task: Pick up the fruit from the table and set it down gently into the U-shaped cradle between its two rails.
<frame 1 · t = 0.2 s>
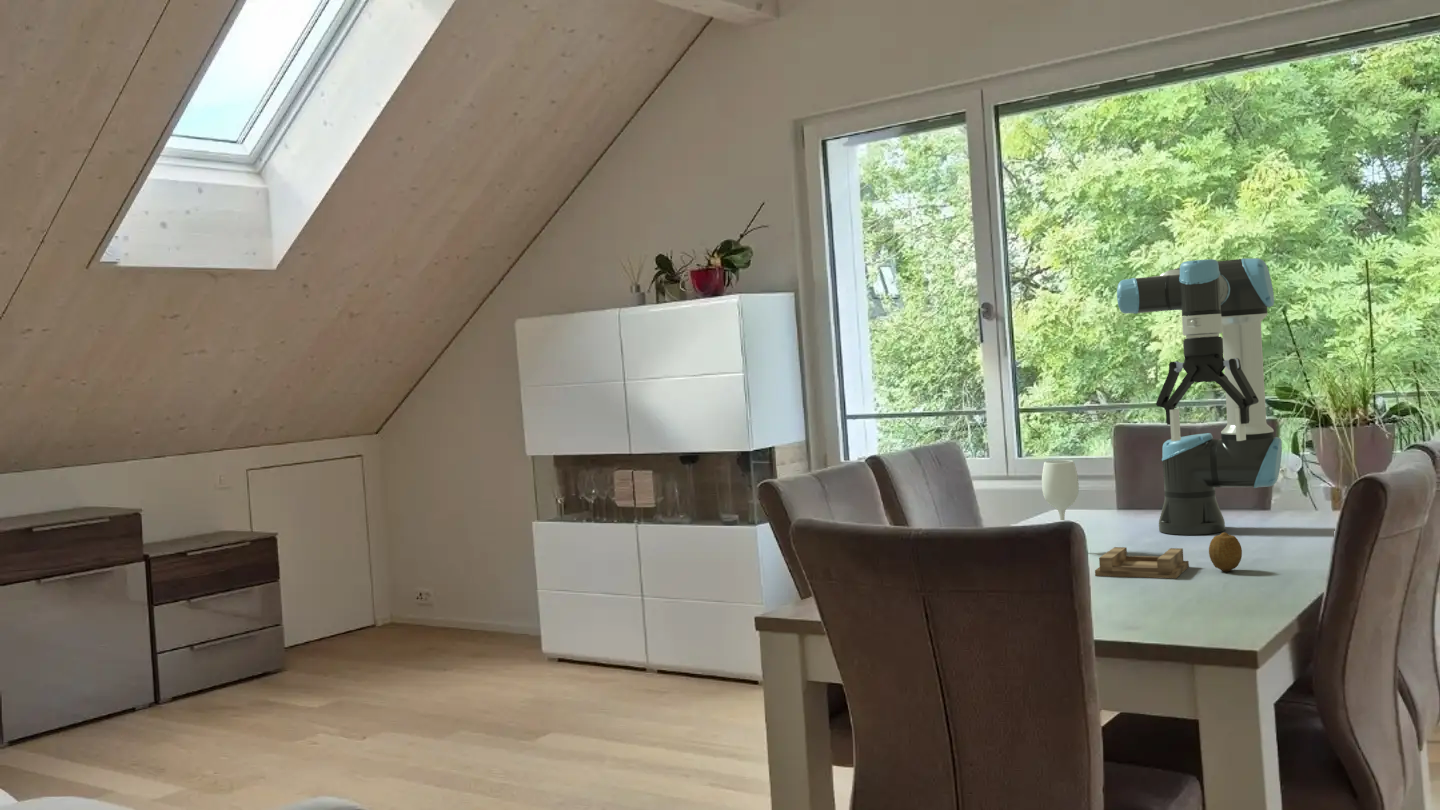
hand: (1208, 440, 254), 27 cm above the table, fingers open, 13 cm apart
wineglass: (1064, 552, 288), on the table
cradle: (1142, 571, 259), on the table
fruit: (1226, 572, 253), on the table
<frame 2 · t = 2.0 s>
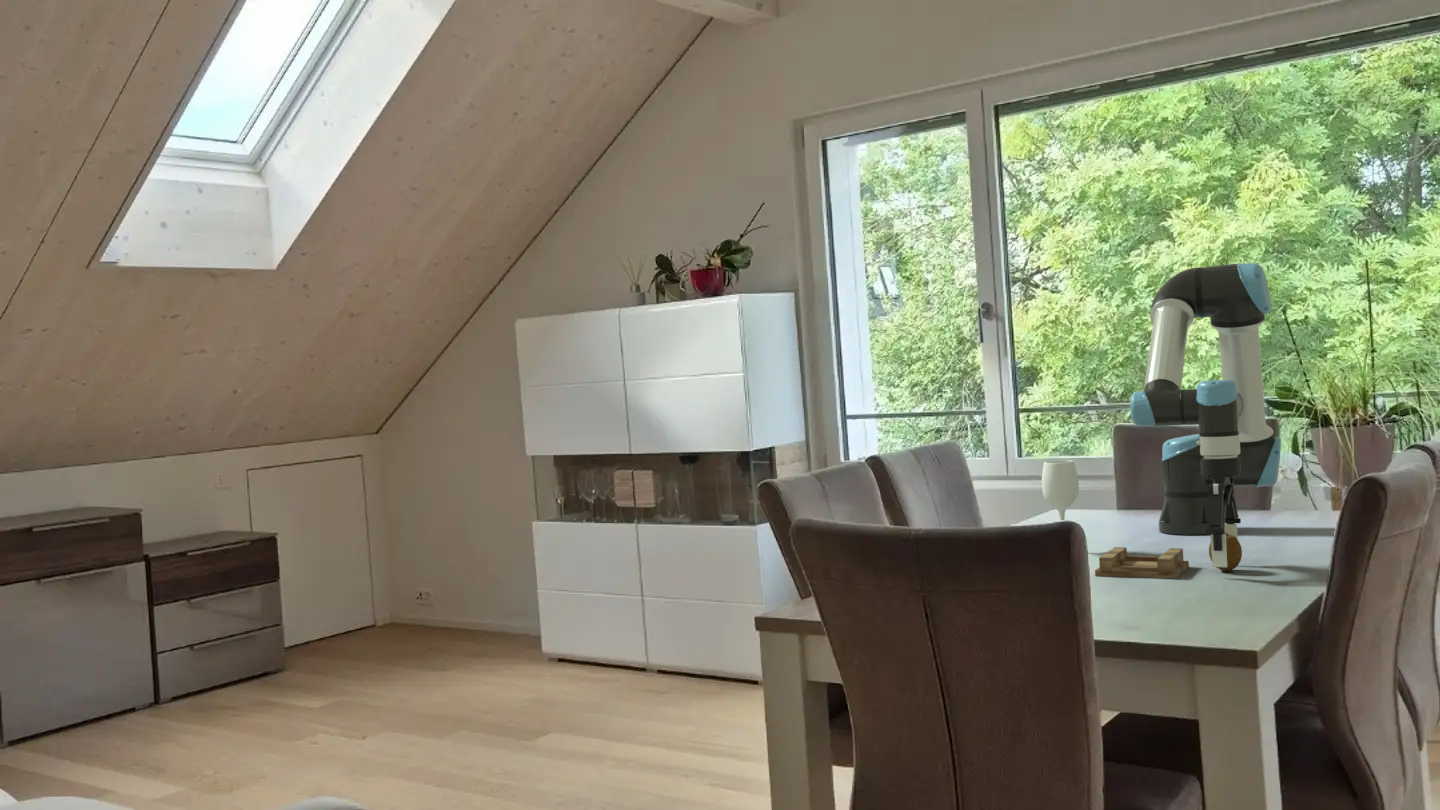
hand: (1225, 561, 253), 2 cm above the table, fingers open, 13 cm apart
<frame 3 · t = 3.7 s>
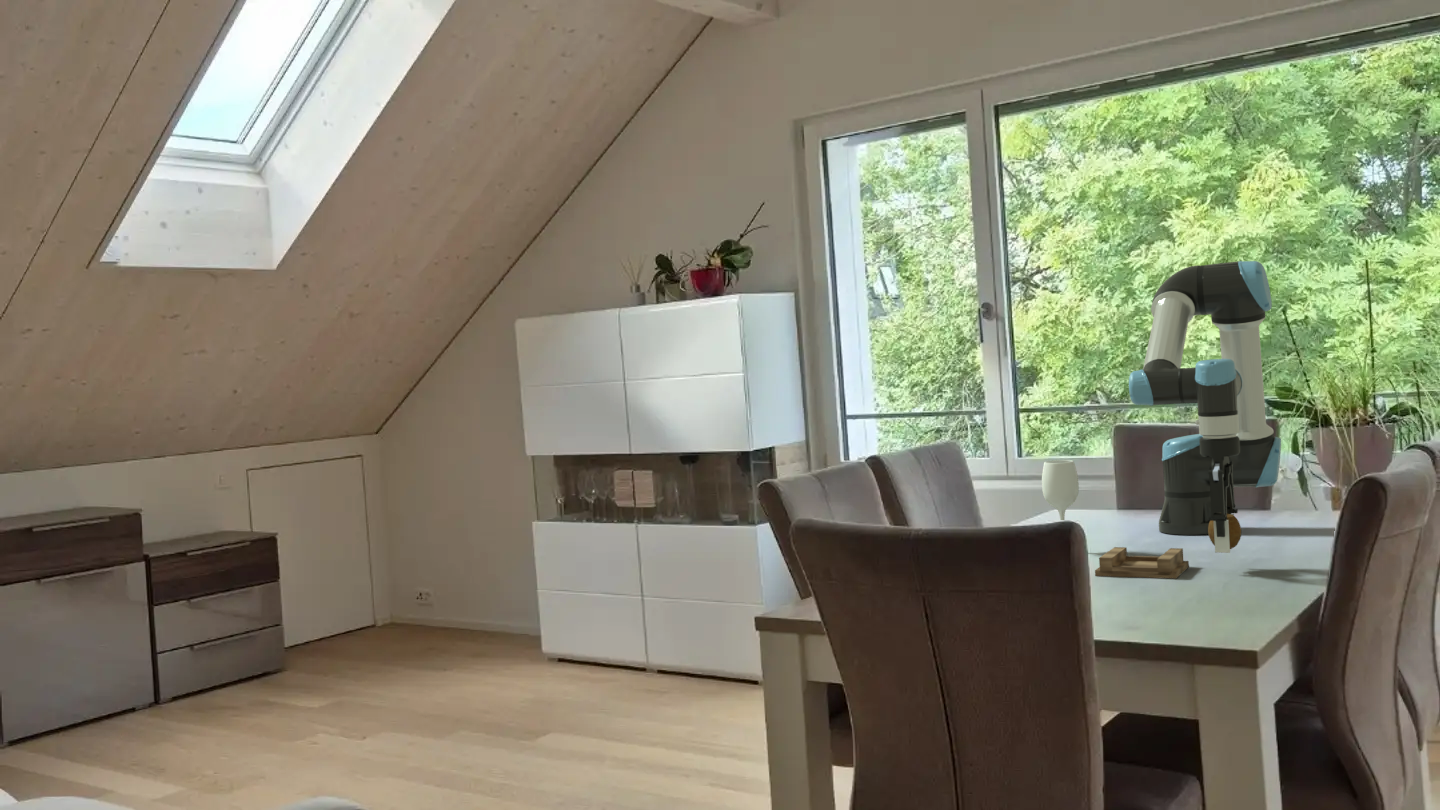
hand: (1225, 548, 253), 5 cm above the table, fingers closed on fruit, 6 cm apart
fruit: (1225, 551, 253), point 4 cm above the table, touching gripper
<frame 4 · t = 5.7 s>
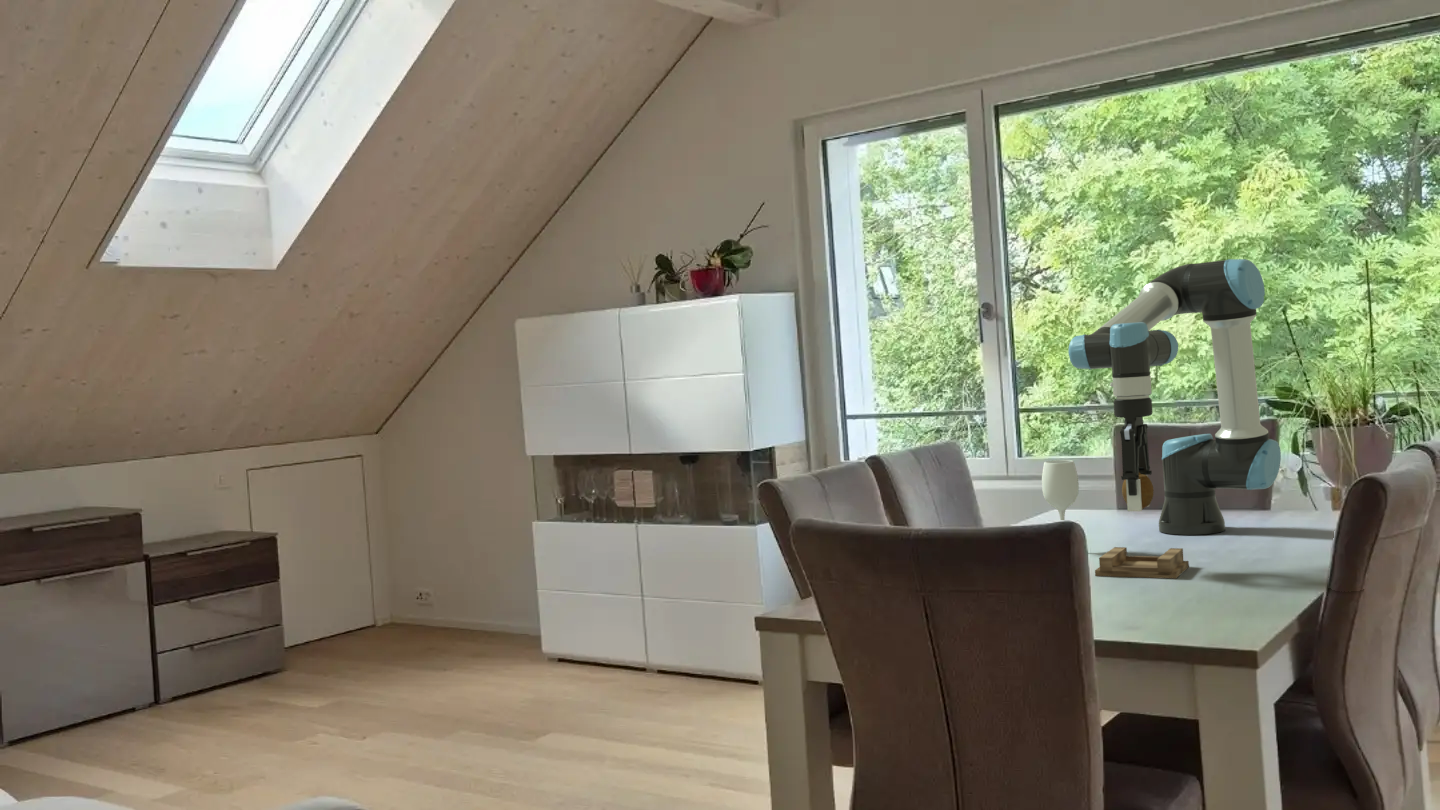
hand: (1138, 508, 258), 13 cm above the table, fingers closed on fruit, 6 cm apart
fruit: (1138, 510, 259), point 13 cm above the table, touching gripper
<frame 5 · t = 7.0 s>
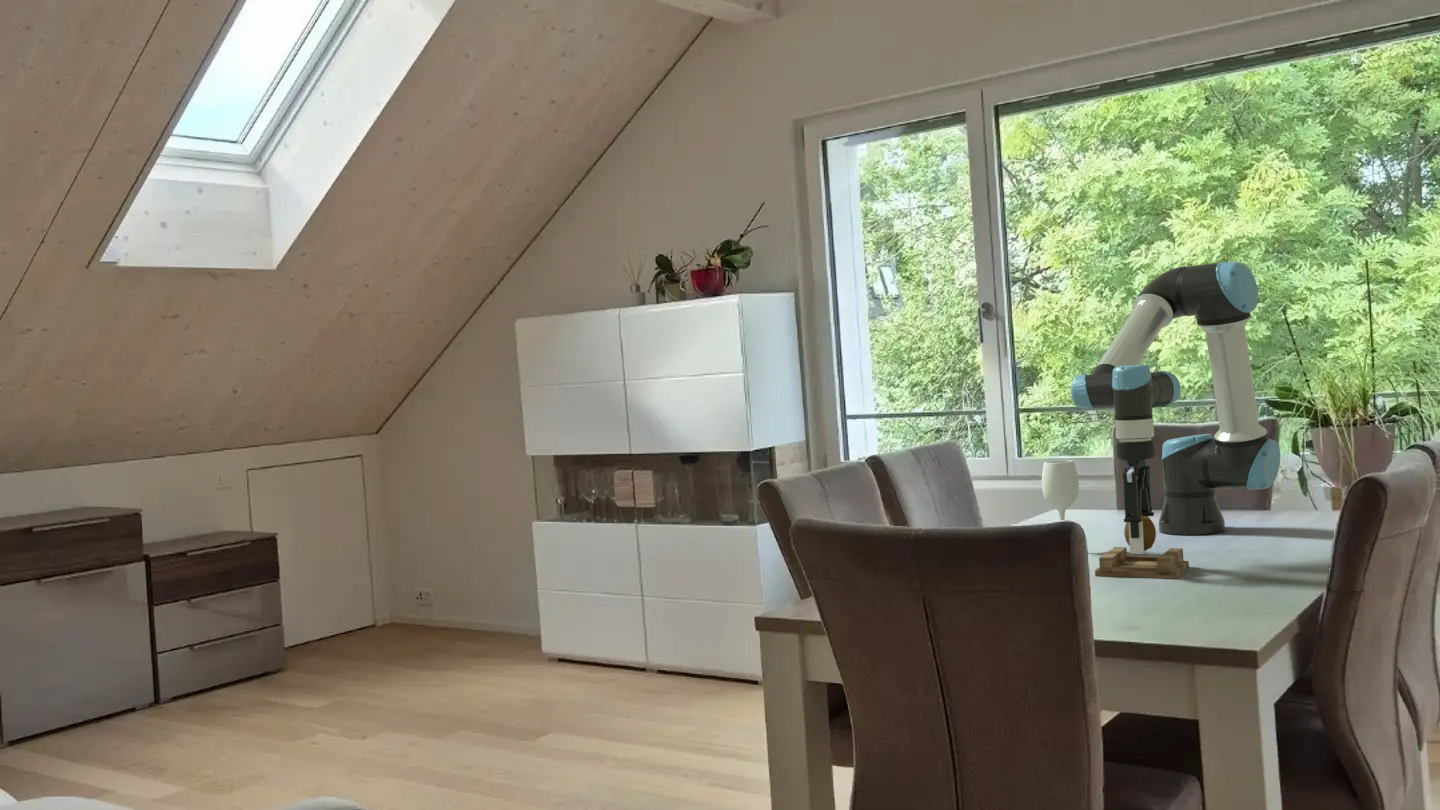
hand: (1140, 550, 259), 4 cm above the table, fingers closed on fruit, 6 cm apart
fruit: (1141, 552, 259), point 4 cm above the table, touching gripper
when the fingers open (2 cm above the table, at t = 7.8 s): fruit stays where it is, resting on cradle.
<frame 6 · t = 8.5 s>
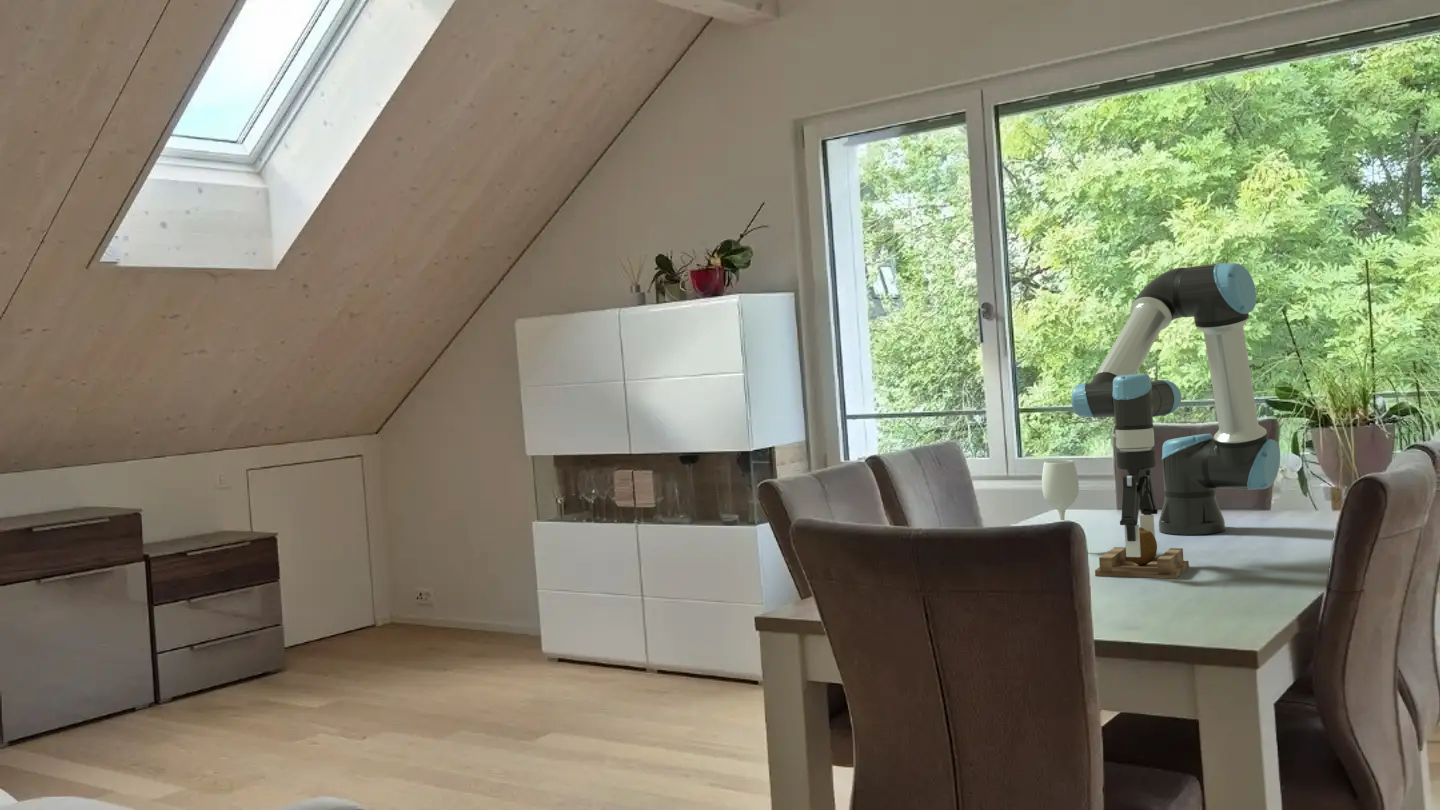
hand: (1141, 551, 259), 4 cm above the table, fingers open, 13 cm apart
fruit: (1142, 566, 259), point 1 cm above the table, touching cradle
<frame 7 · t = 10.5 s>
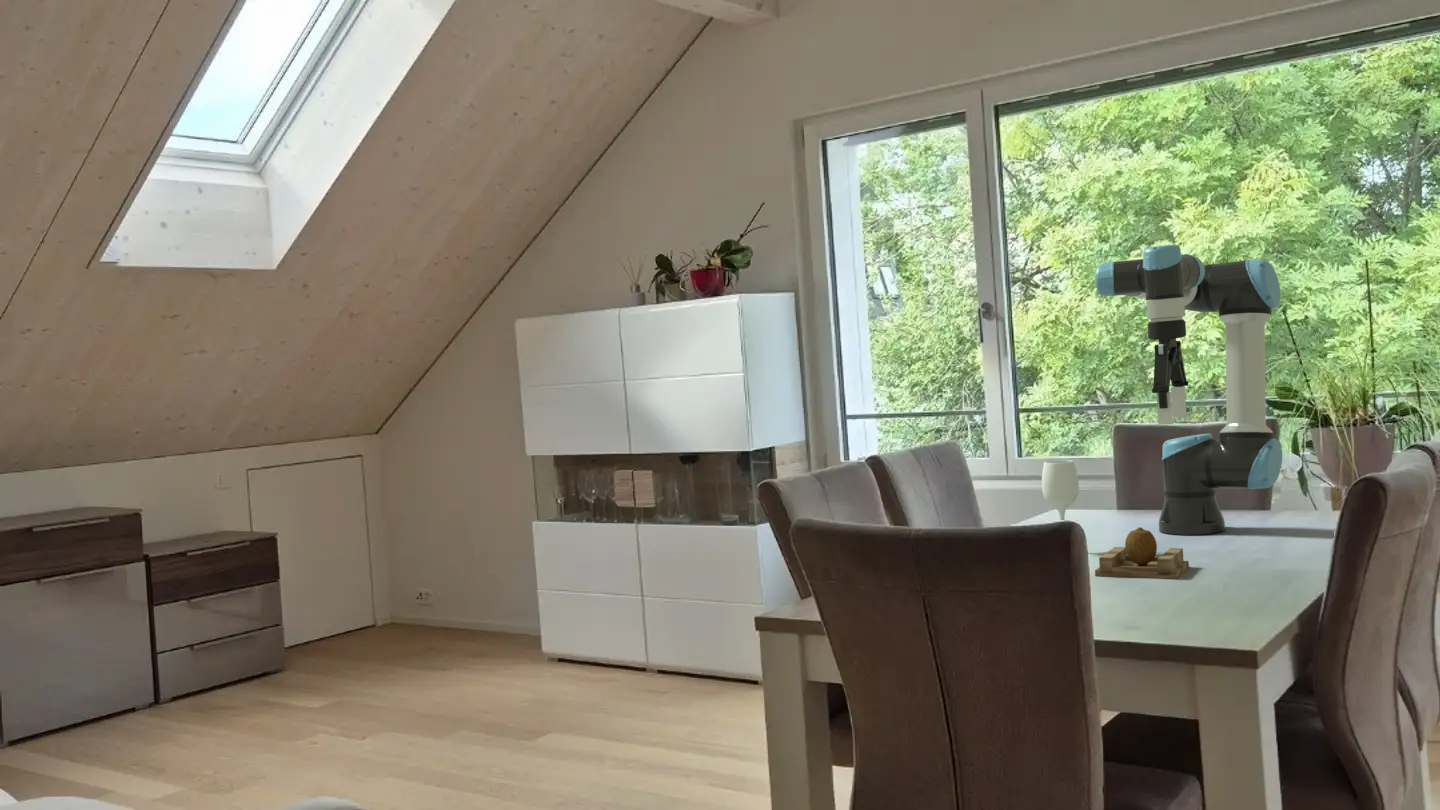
hand: (1172, 420, 262), 30 cm above the table, fingers open, 13 cm apart
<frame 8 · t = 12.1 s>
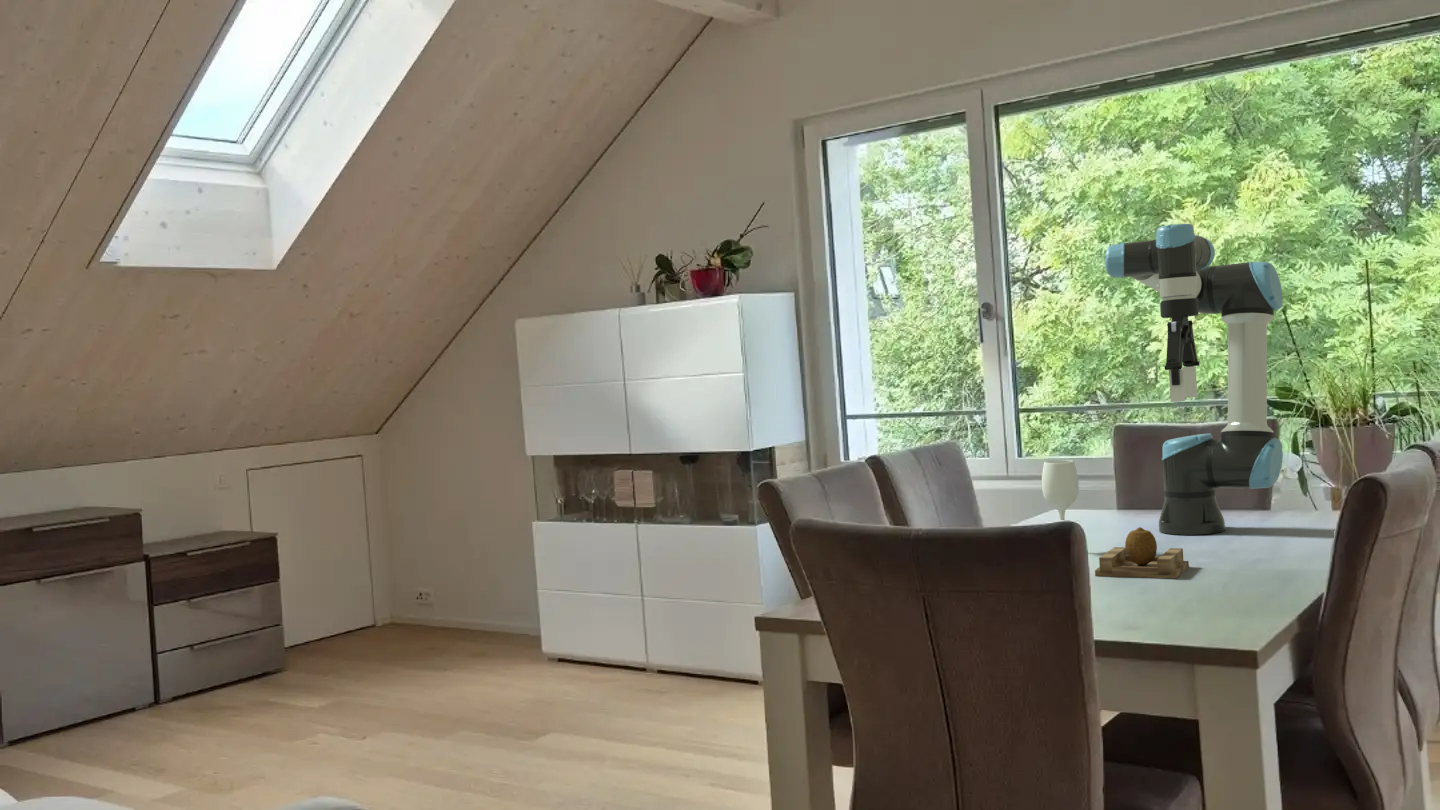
hand: (1184, 399, 263), 35 cm above the table, fingers open, 13 cm apart
at the end: fruit inside the target area on the cradle (0.1 cm from its centre), point 1.0 cm above the cradle's base; fruit touching cradle; the gripper is holding nothing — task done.
